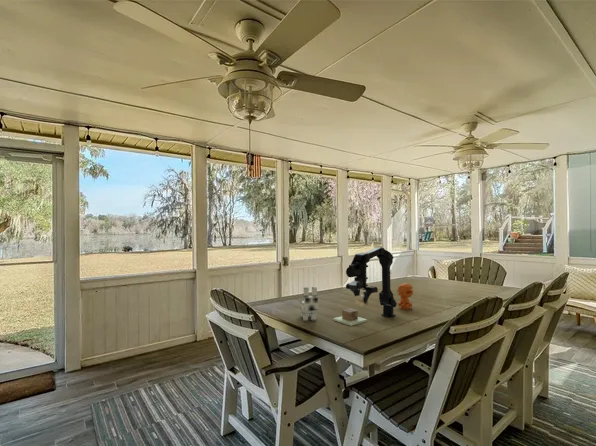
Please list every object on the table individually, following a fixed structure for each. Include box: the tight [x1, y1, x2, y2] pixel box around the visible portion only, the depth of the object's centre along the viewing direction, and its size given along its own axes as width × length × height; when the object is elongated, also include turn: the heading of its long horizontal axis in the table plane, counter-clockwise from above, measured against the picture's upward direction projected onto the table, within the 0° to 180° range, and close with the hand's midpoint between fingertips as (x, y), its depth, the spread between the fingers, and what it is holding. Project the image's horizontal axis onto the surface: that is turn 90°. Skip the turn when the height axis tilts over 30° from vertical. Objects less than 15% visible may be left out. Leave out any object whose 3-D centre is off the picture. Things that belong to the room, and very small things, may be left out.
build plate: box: [332, 315, 368, 326], centre depth 186 cm, size 14×14×1 cm
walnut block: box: [341, 308, 359, 321], centre depth 186 cm, size 6×6×5 cm
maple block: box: [354, 294, 369, 307], centre depth 179 cm, size 5×5×5 cm
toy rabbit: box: [300, 286, 319, 322], centre depth 190 cm, size 8×18×20 cm, turn 10°
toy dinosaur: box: [396, 282, 414, 311], centre depth 214 cm, size 11×11×18 cm
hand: (361, 302), depth 179 cm, fingers closed on maple block, 5 cm apart
